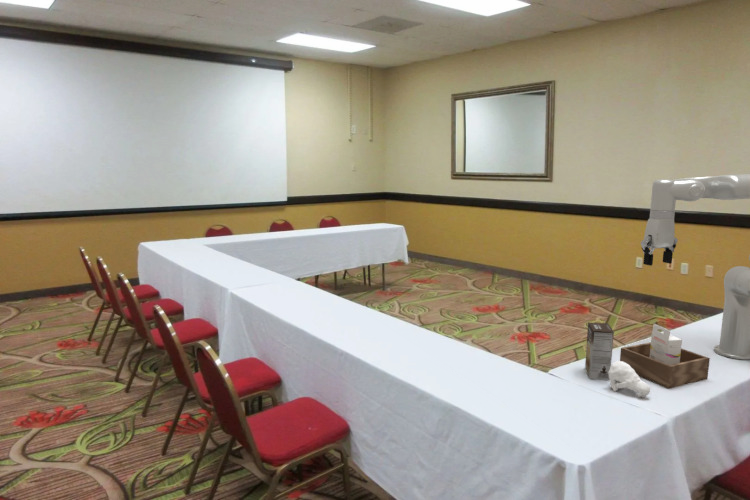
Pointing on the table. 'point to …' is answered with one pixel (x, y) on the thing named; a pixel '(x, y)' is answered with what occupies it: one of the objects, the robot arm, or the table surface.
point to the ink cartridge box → (665, 346)
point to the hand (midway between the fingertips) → (657, 263)
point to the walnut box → (666, 366)
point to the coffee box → (599, 350)
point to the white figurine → (627, 379)
